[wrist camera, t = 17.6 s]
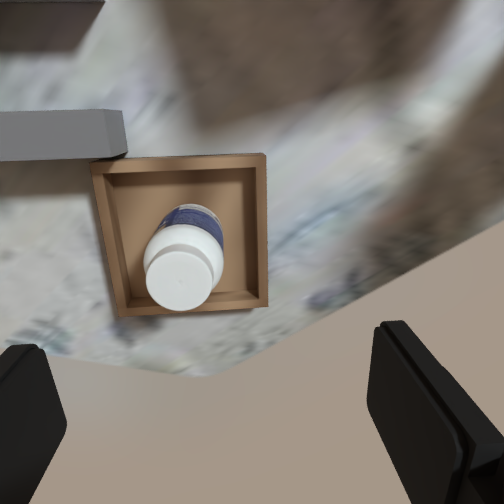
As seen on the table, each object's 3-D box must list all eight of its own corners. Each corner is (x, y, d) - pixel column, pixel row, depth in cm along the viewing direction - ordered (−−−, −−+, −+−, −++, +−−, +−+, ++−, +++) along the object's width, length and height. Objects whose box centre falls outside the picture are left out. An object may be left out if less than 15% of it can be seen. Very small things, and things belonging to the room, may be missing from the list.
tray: (262, 152, 28) (266, 155, 26) (264, 293, 33) (268, 306, 31) (100, 159, 28) (89, 162, 25) (126, 302, 32) (118, 316, 30)
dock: (96, -53, 23) (69, -92, 19) (128, 151, 27) (111, 157, 23) (-72, -54, 22) (-140, -94, 18) (-11, 156, 27) (-53, 163, 23)
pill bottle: (163, 197, 28) (136, 232, 19) (228, 208, 29) (231, 248, 20) (156, 257, 30) (128, 315, 21) (217, 266, 31) (216, 326, 22)
